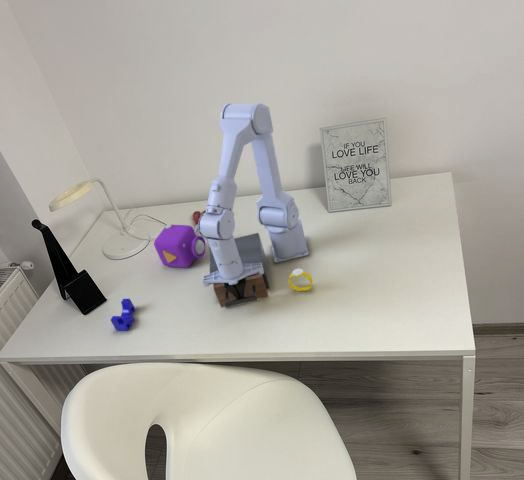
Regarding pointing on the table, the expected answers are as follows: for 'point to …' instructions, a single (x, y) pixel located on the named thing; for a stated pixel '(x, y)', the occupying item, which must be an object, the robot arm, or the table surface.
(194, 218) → the scissors
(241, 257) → the cabinet
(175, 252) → the toy camera
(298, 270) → the watch
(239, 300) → the drawer
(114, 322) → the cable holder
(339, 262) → the table surface
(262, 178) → the robot arm
